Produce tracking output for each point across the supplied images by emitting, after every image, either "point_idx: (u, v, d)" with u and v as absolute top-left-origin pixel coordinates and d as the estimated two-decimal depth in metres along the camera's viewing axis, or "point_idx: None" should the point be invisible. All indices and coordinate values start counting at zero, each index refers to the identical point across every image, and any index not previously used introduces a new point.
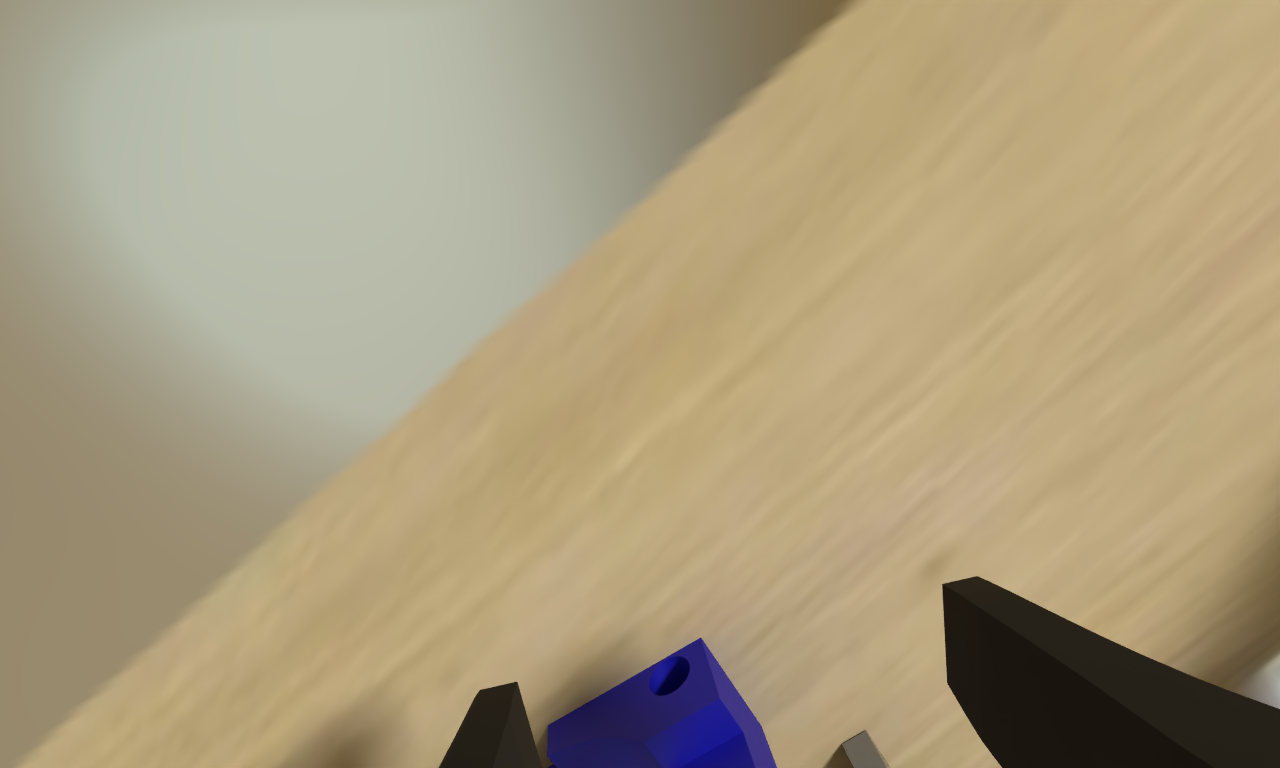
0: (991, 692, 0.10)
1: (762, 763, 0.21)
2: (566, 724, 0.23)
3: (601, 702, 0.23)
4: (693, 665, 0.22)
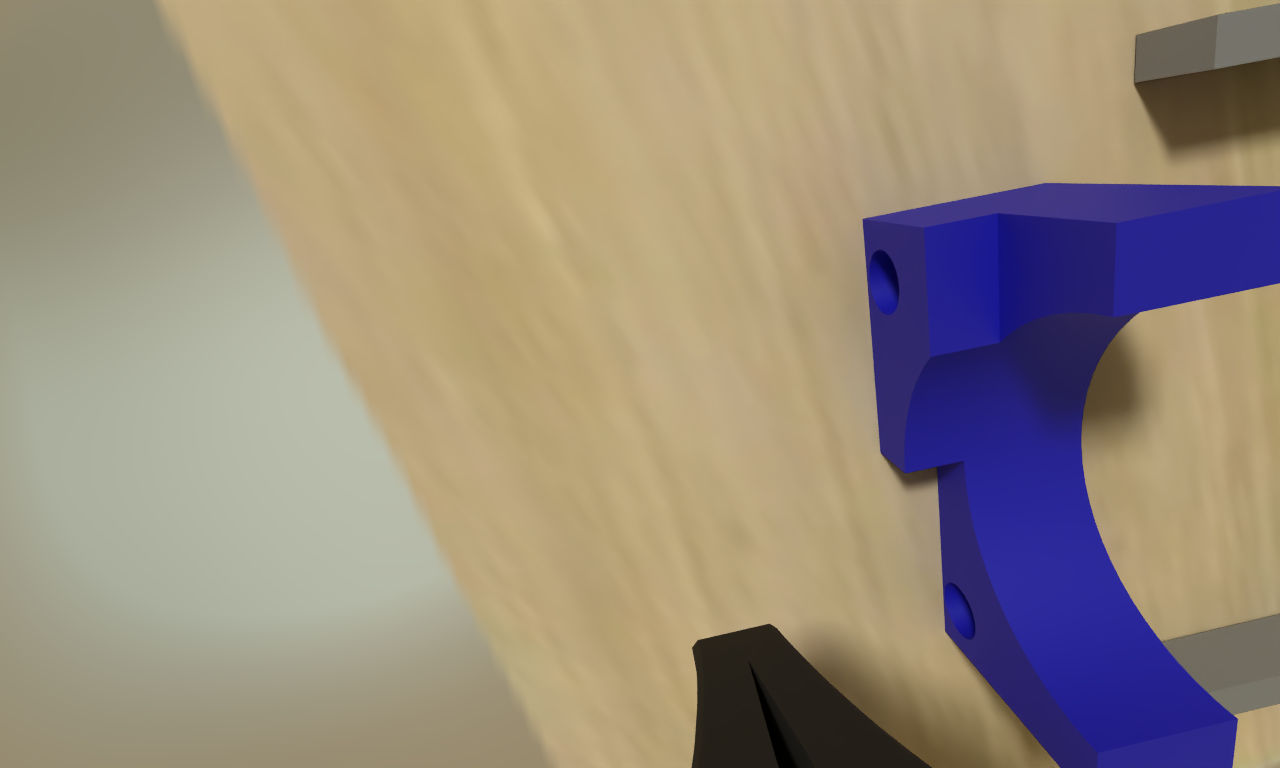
0: None
1: (1061, 203, 0.13)
2: (886, 433, 0.17)
3: (881, 380, 0.17)
4: (884, 244, 0.15)
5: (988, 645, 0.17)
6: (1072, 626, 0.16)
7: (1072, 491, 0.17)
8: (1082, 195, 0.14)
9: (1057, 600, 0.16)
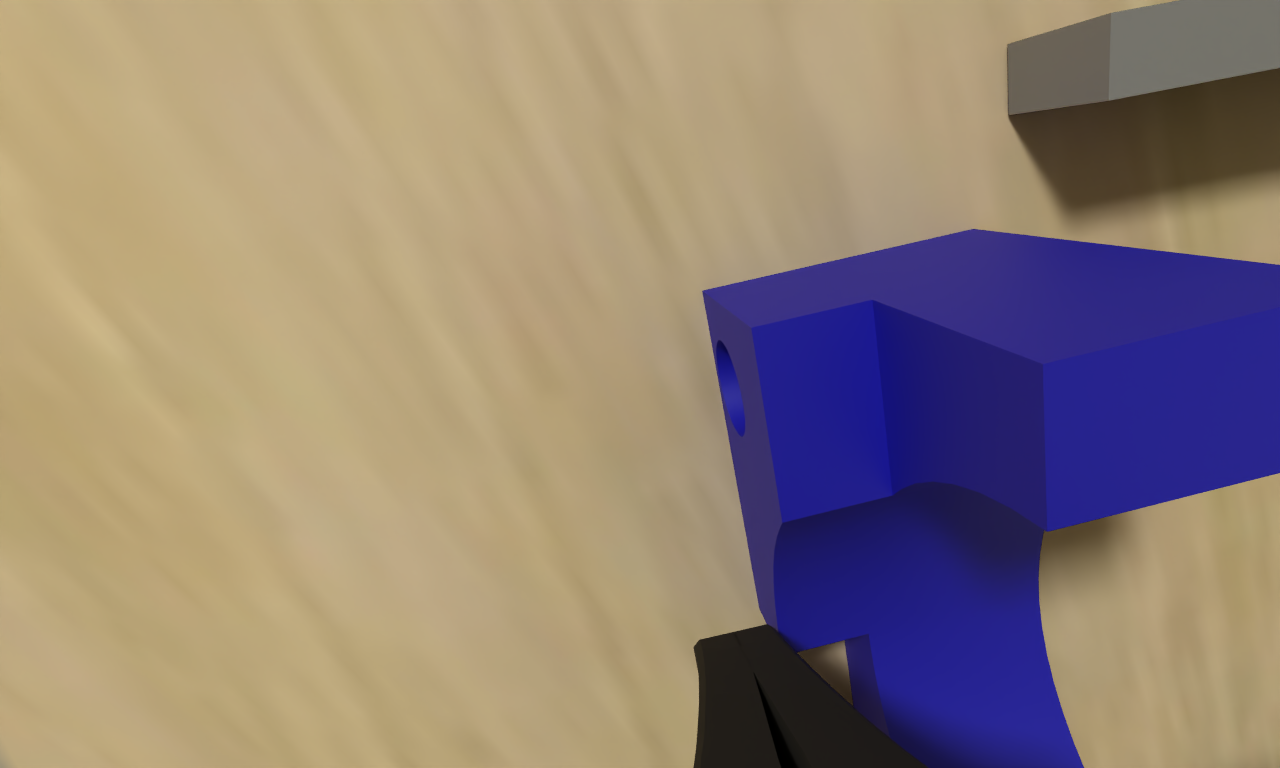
0: None
1: (973, 283, 0.08)
2: (760, 589, 0.12)
3: (746, 517, 0.12)
4: (722, 335, 0.10)
5: None
6: None
7: (1028, 669, 0.12)
8: (1011, 265, 0.08)
9: None
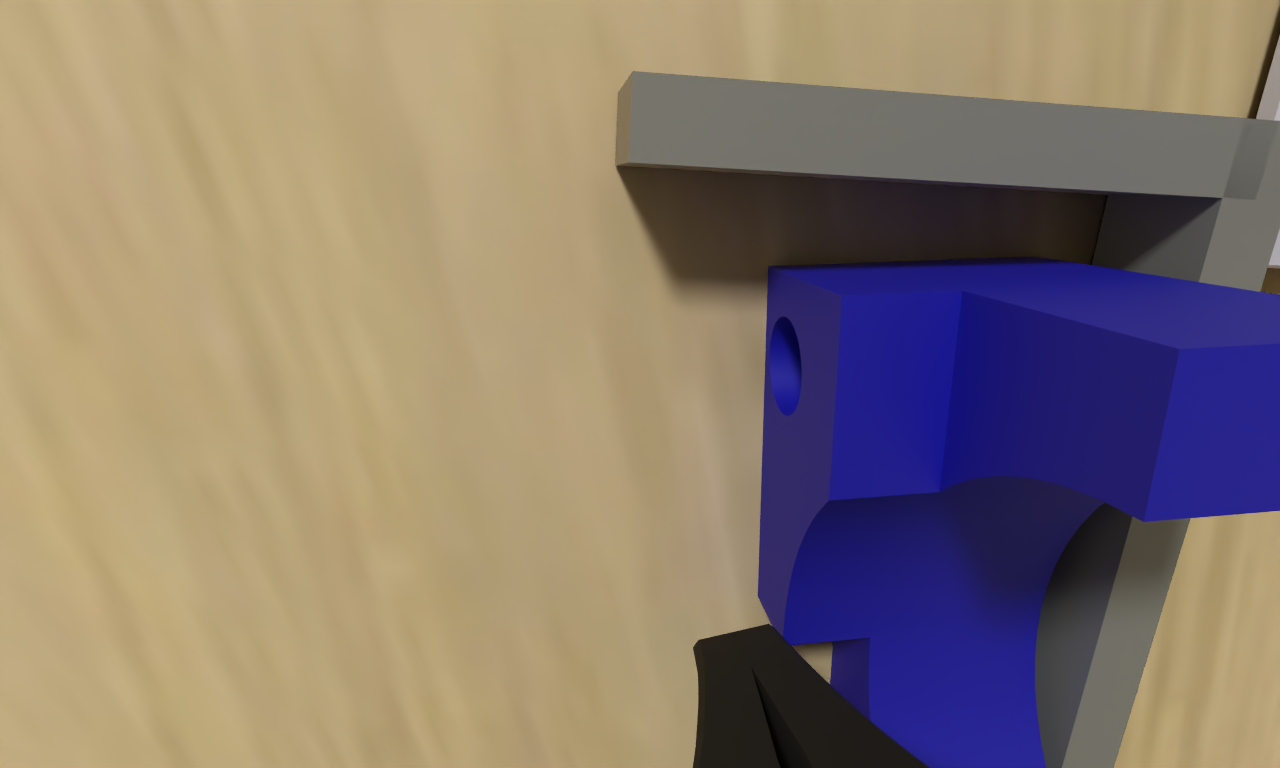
0: None
1: (1064, 290, 0.08)
2: (768, 578, 0.12)
3: (769, 503, 0.12)
4: (789, 310, 0.10)
5: None
6: None
7: (1015, 698, 0.12)
8: (1096, 283, 0.08)
9: None
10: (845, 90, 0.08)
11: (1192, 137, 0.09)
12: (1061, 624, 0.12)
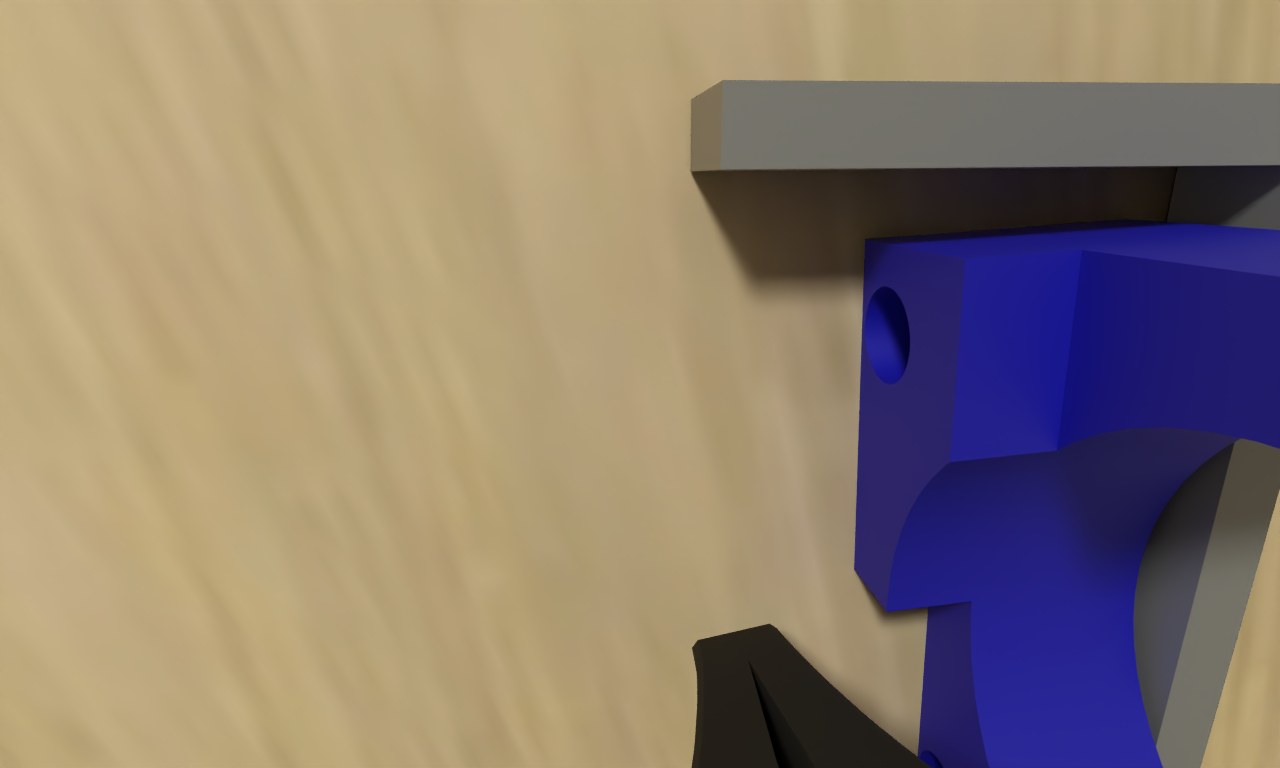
0: None
1: (1186, 245, 0.08)
2: (865, 546, 0.12)
3: (865, 472, 0.12)
4: (893, 280, 0.10)
5: None
6: None
7: (1115, 657, 0.12)
8: (1211, 237, 0.09)
9: None
10: (930, 84, 0.08)
11: (1274, 106, 0.09)
12: (1149, 597, 0.12)
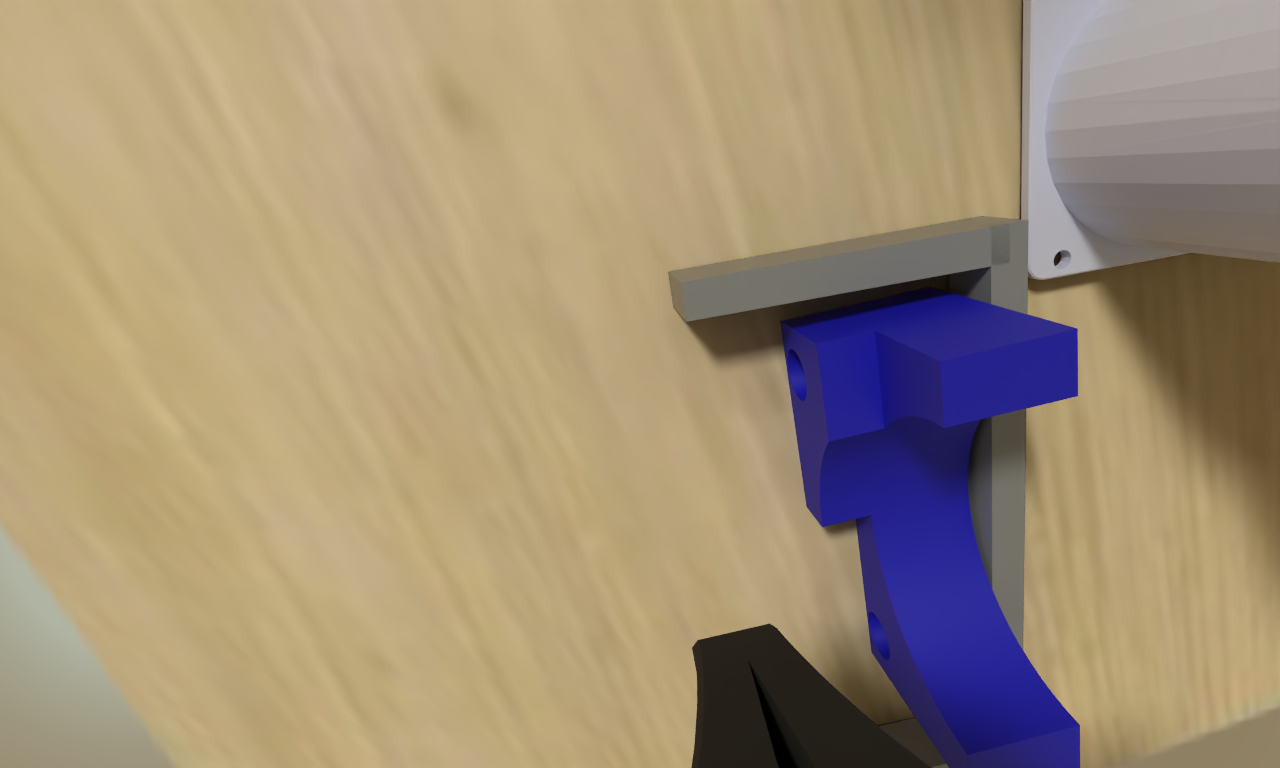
0: None
1: (922, 323, 0.17)
2: (808, 492, 0.21)
3: (801, 450, 0.20)
4: (794, 346, 0.19)
5: (899, 665, 0.21)
6: (959, 650, 0.19)
7: (962, 537, 0.20)
8: (942, 313, 0.17)
9: (949, 628, 0.20)
10: (782, 265, 0.17)
11: (965, 242, 0.17)
12: (976, 502, 0.20)
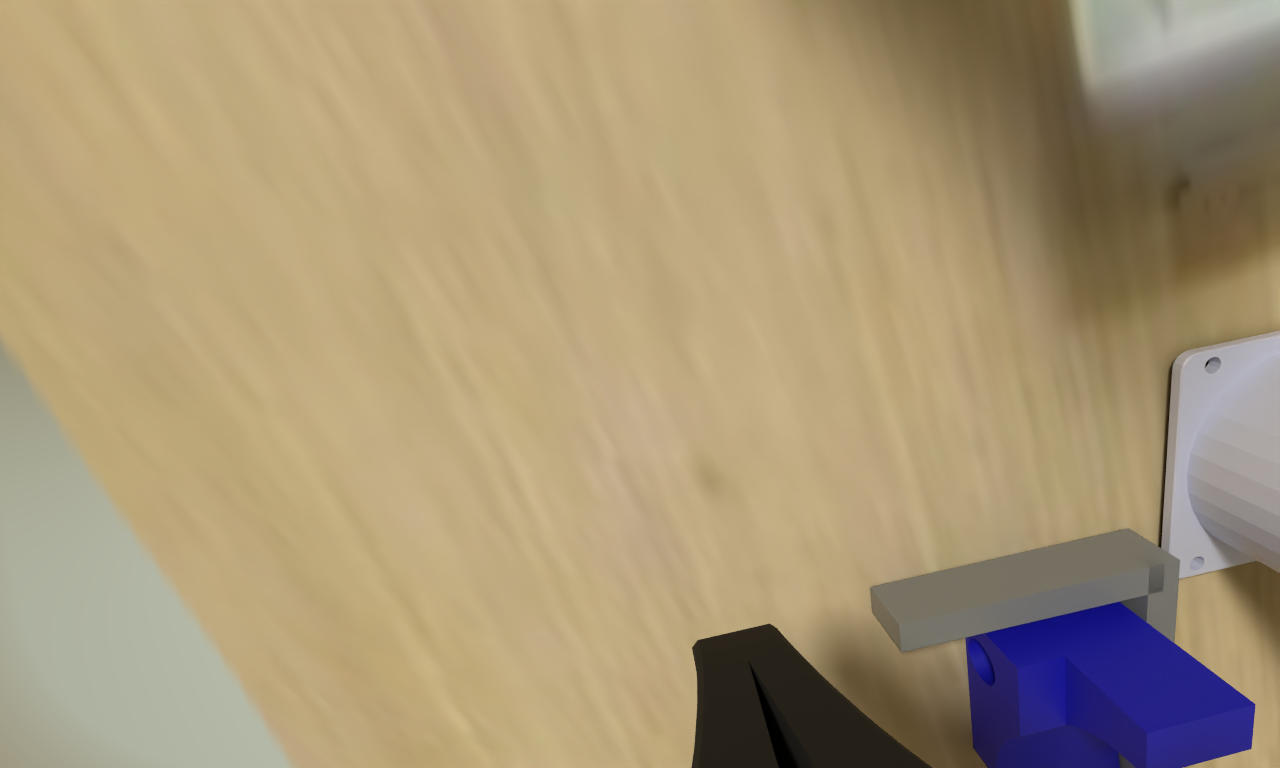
0: None
1: (1107, 654, 0.20)
2: (980, 742, 0.24)
3: (976, 710, 0.24)
4: (982, 643, 0.22)
5: None
6: None
7: None
8: (1119, 639, 0.21)
9: None
10: (981, 607, 0.21)
11: (1128, 579, 0.21)
12: None
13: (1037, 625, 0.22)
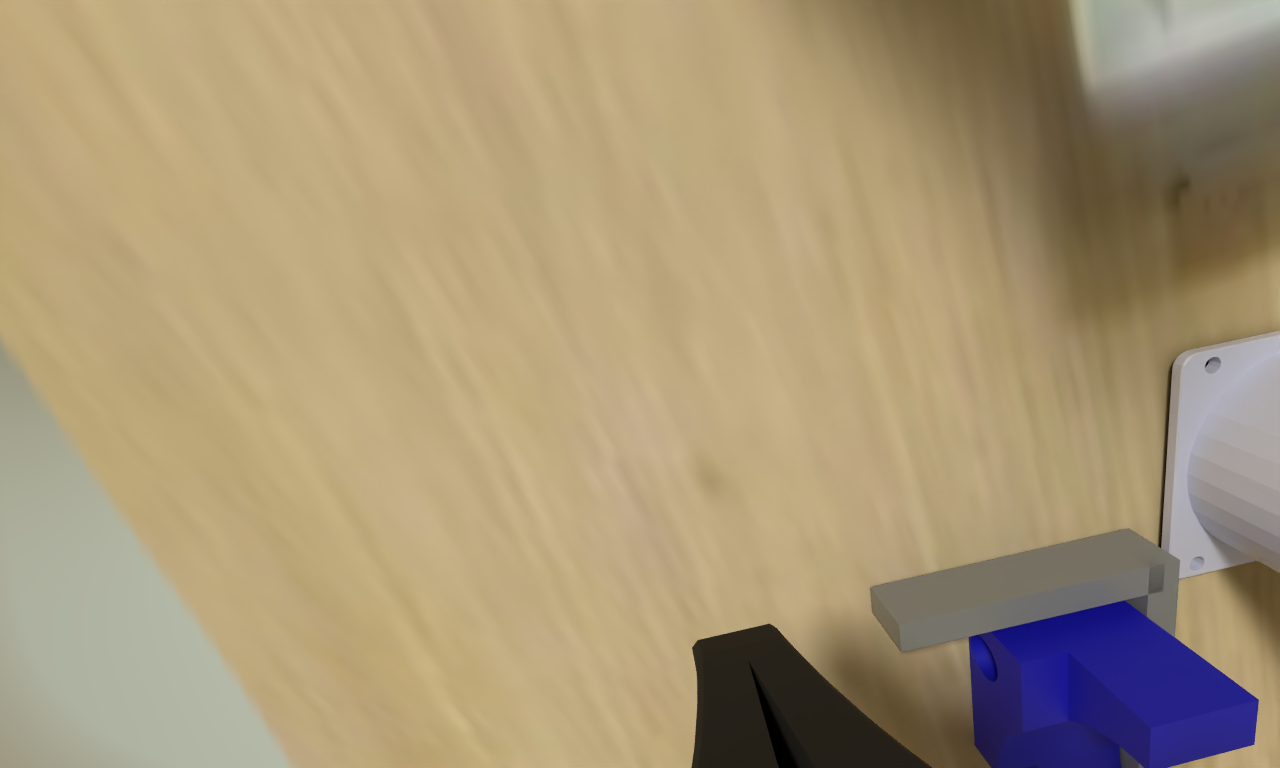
0: None
1: (1110, 650, 0.20)
2: (981, 739, 0.24)
3: (978, 706, 0.24)
4: (985, 639, 0.22)
5: None
6: None
7: None
8: (1122, 635, 0.21)
9: None
10: (981, 607, 0.21)
11: (1128, 579, 0.21)
12: (1121, 754, 0.24)
13: (1040, 621, 0.22)
